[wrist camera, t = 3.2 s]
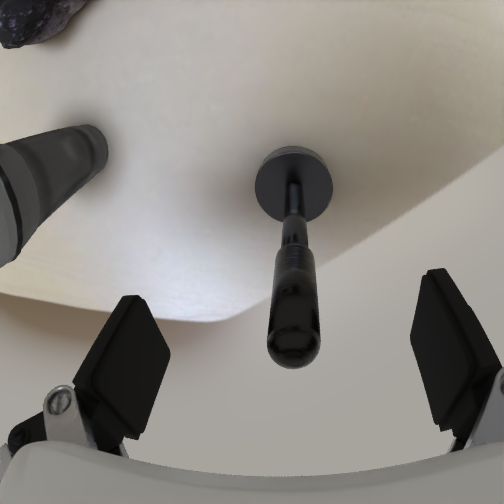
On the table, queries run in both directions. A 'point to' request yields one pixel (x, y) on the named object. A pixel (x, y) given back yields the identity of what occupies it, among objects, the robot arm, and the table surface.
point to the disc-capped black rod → (294, 250)
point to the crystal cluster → (34, 20)
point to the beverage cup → (43, 179)
